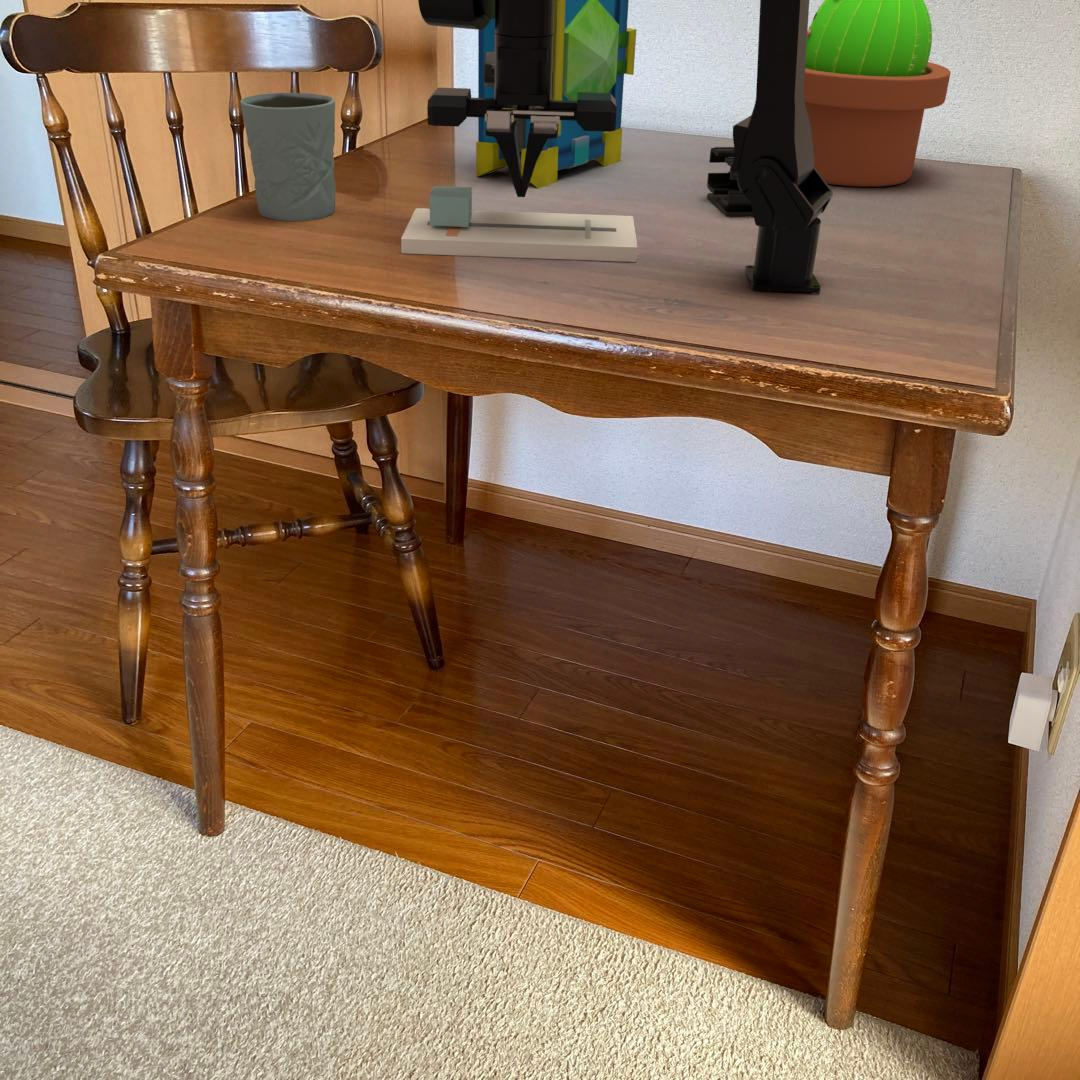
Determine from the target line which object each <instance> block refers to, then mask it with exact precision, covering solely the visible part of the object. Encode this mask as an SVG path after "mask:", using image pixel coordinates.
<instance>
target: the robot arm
mask: <svg viewBox="0 0 1080 1080" xmlns="http://www.w3.org/2000/svg"><path fill="white" fill-rule="evenodd" d="M759 1H760V3H759V18H758V19H759V23H758V25H759V26H758V44H757V45H758V46H757V70H756V91H755V92H756V93H755V100H754V105H753V108H752V112H751V115H749V116H747V117H746V118H744V119H742V120H740V121H739V122H738V123H736V124H734V125H733V126H732V141H733V147H734V153H735V154H734V160H733V163H732V166H731V167H730V169H729V171H730V172H734V171H736V170H737V183H738V187H739V189H740V192H741V193H743V194H744V195H745V197H746V198H747V199H748V200H749V201H750V202H751V207H752V211H753V216H754V217H753V219H754V220H753V221H754V224H755V226H757V227H758V231H757V232H758V233H757V239H756V247H755V255H754V261H753V262H754V263H753V265H745V268H744V272H745V274H746V277H747V280H748V282H749V284H750V286H751V289H752V290H754V291H770V292H771V291H772V292H773V291H774V292H795V293H796V292H800V293H801V292H802V293H820V292H821V289H822V287H821V285H820V283H819V281H818V279H817V277H816V276H815V274H814V268H815V262H816V256H817V249H818V243H819V236H820V230H821V223H822V221H821V218H819V216H820V214H822V213H824V212H825V211H826V209H827V207H828V205H829V204H830V202H831V199H832V198H833V196H834V191H833V189H832V188H831V186H829V184H827V183H826V182H825V180H824V179H823V178H822V176H821V175H820V174H819V172H818V171H817V170H816V168H815V167H814V152H813V142H812V133H811V126H810V122H809V117H808V113H807V109H806V105H805V101H804V78H805V62H806V47H807V31H808V29H809V27H808V26H809V15H810V14H809V12H810V11H809V10H810V0H759ZM417 2H418V8H419V13H420V16H421V18H422V20H423V21H424V23H426V24H427V26H433V27H443V28H454V29H455V28H457V29H467V30H477V31H478V30H483V29H484V28H485V27H486V26H487V25H488V24H489V22H490V19H491V20H492V19H494V18H495V52H485V61H484V83H485V86H486V87H495V98H478V97H472V90H471V88H468V87H467V88H464V87H460V88H459V87H437V88H436V89H435V90H434V91H433V92H432V93H431V95H430V96H429V98H428V99H427V108H426V109H427V125H428V126H432V127H433V126H434V127H457V128H458V127H459V126H461V125H462V124H463V122H465V120H466V119H467V118H478V117H482V118H485V122H487V126H486V129H485V135H486V136H489V137H494V138H495V139H496V141H497V143H498V145H499V147H500V150H501V152H502V154H503V156H504V158H505V160H506V163H507V166H506V167H507V168H508V172H509V175H510V178H511V181H512V184H513V187H514V191H515V193H516V197H517V198H525V197H526V195H527V192H528V189H529V186H530V184H531V182H530V180H531V177H532V174H533V171H534V168H535V165H536V162H537V160H538V158H539V156H540V154H541V152H542V150H543V148H544V146H545V144H546V142H547V140H548V139H555V138H558V129H559V124H560V120H572V121H577V123H578V124H579V126H580V127H581V128H582V129H583V130H584V131H605V132H611V131H615V129H616V110H617V106H616V100H615V98H614V97H613V96H612V95H611V93H588V92H578V95H577V101H559V100H551V98H552V96H553V69H552V64H553V30H554V0H417ZM503 108H505V109H503ZM507 108H509V109H507ZM511 108H512V109H511ZM530 109H531V110H530ZM515 119H531V124H530V129H529V135H528V141H527V148H526V155H525V162H524V168H523V175H521V160H520V157H519V148H518V136H517V121H514V120H515Z"/></svg>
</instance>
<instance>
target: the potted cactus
mask: <svg viewBox="0 0 1080 1080" xmlns="http://www.w3.org/2000/svg"><path fill="white" fill-rule="evenodd" d="M927 7H928V8H927ZM816 8H818V9H817V11H816V12H815V14H814V15H813V18H812V21H811V23H810V24H809V25H808V26H809V27H808V31H807V47H806V62H805V78H804V101H805V105H806V109H807V113H808V117H809V122H810V126H811V133H812V142H813V152H814V167H815V168H816V170H817V171H818V172H819V174H820V175H821V176H822V178H823V179H824V180H825V182H826V183H827V184H828V185H832V186H833V185H835V186H845V187H860V188H862V187H863V188H870V187H871V188H875V187H877V188H878V187H879V188H880V187H881V188H882V187H891V186H896V185H900V184H902V183H905V182H907V181H908V180H909V179H910V178H911V177H912V175H913V170H914V166H915V160H916V154H917V148H918V144H919V139H920V134H921V128H922V124H923V118H924V114H925V110H927V109H933V108H937V107H940V106H942V105H944V103H945V101H946V97H947V94H948V93H947V92H948V88H949V83H950V77H951V71H950V69H949V68H947V67H945V66H943V65H940V64H937V63H935V62H932V60H936V59H932V58H931V59H930V56H931V50H932V45H933V44H932V42H933V32H935V29H932V23H933V22H934V21H932V20H931V18H933V17H936V13H935V14H932V15H931V16H930V13H929V10H931V9H932V8H933V5H930V6H927V5H926V3H925V1H924V0H823V2H822V3H821V5H820V6H816ZM929 61H930V62H929Z"/></svg>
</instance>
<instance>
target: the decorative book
mask: <svg viewBox="0 0 1080 1080" xmlns="http://www.w3.org/2000/svg"><path fill="white" fill-rule="evenodd" d="M629 3H630V2H629V0H554V30H553V64H552V69H553V96H552V98H551V100H559V101H577V95H578V92H588V93H611V95H612V96H613V97H614V98H615V100H616V106H617V110H616V129H615V131H611V132H605V131H584V130H583V129H582V128H581V127H580V126H579V124H578V123H577V121H572V120H560V124H559V129H558V138H555V139H548V140H547V142H546V144H545V146H544V148H543V150H542V152H541V154H540V156H539V158H538V160H537V162H536V165H535V168H534V171H533V174H532V177H531V180H530V184H532V185H533V186H535V187H536V188H537V189H540V187H541V188H543V187H547V186H549V185H553V184H556V183H558V171H561V170H563V169H566V170H570V169H573V168H576V167H579V166H582V165H584V164H587V163H588V162H589V161H592V160H595V161H597V162H598V164H600V165H601V166H602V167H606V166H610V165H612V164H616V163H618V162H619V163H620V162H621V156H622V154H621V153H622V139H623V128H622V113H623V100H624V99H623V98H624V83H625V82H624V80H625V75H631V76H633V75H634V72H635V71H634V69H635V56H636V55H635V54H636V44H637V43H636V41H637V40H636V39H637V29H636V28H632V27H631V28H630V27H629V28H628V20H629V18H628V17H629V16H628V13H629ZM477 33H478V34H477V35H478V36H477V37H478V38H477V39H478V40H477V41H478V43H477V44H478V48H477V51H478V52H477V55H478V56H477V59H478V60H477V61H478V65H477V67H478V71H477V72H478V79H477V83H478V88H477V90H478V92H477V94H478V95H477V96H478V97H477V98H495V87H486V86H485V83H484V61H485V52H495V18H494V19H492V20H491V19H490V22H489V24H488V25H487V26H486V27H485V28H484V29H483V30H477ZM503 109H505V108H503ZM507 109H509V108H507ZM511 109H512V108H511ZM530 110H531V109H530ZM477 119H478V124H477V125H478V127H477V128H478V130H477V132H478V135H477V137H478V139H477V140H478V141H475V144H476V147H475V153H476V155H475V158H476V164H475V167H476V168H475V171H476V173H475V176H476V178H477V177H478V178H479V177H481V176H484V175H487V174H491V173H495V172H497V171H499V170H502V169H504V168H507V167H508V166H507V163H506V160H505V158H504V156H503V154H502V152H501V150H500V147H499V145H498V143H497V141H496V139H495V138H494V137H489V136H486V135H485V129H486V126H487V122H485V118H482V117H477ZM514 121H517V136H518V148H519V157H520V167H521V176H522V175H523V168H524V162H525V155H526V148H527V141H528V135H529V129H530V124H531V119H515V120H514ZM555 182H556V183H555ZM552 183H553V184H552ZM546 185H547V186H546Z"/></svg>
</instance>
